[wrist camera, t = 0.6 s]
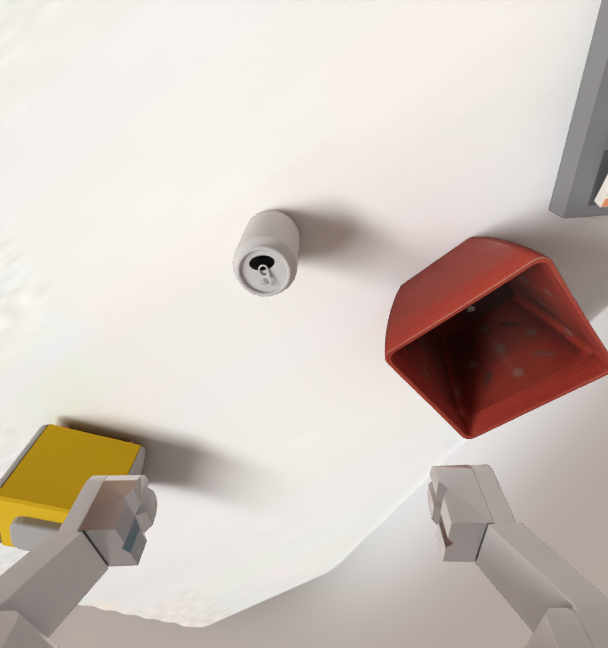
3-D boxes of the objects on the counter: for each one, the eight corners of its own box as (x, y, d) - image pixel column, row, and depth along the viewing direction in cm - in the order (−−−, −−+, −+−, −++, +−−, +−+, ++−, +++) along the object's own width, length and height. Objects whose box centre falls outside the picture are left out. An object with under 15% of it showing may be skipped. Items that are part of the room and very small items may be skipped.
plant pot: (434, 362, 65) (467, 443, 51) (365, 287, 58) (381, 357, 44) (545, 296, 58) (620, 370, 44) (482, 200, 50) (547, 251, 36)
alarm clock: (49, 463, 83) (-12, 553, 67) (48, 413, 74) (-22, 504, 59) (142, 483, 86) (105, 574, 70) (151, 438, 77) (110, 529, 62)
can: (294, 203, 51) (289, 236, 41) (304, 255, 55) (302, 297, 45) (239, 213, 52) (221, 247, 42) (253, 263, 56) (239, 306, 46)
